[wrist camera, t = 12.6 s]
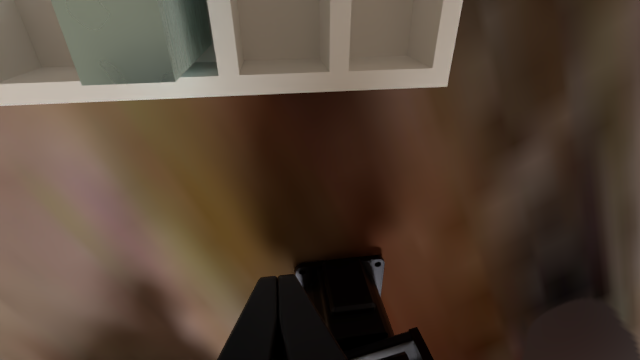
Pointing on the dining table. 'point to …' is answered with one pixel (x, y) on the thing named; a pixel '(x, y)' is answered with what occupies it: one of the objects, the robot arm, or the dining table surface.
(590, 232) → the dining table surface
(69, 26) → the metal block
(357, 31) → the rack
